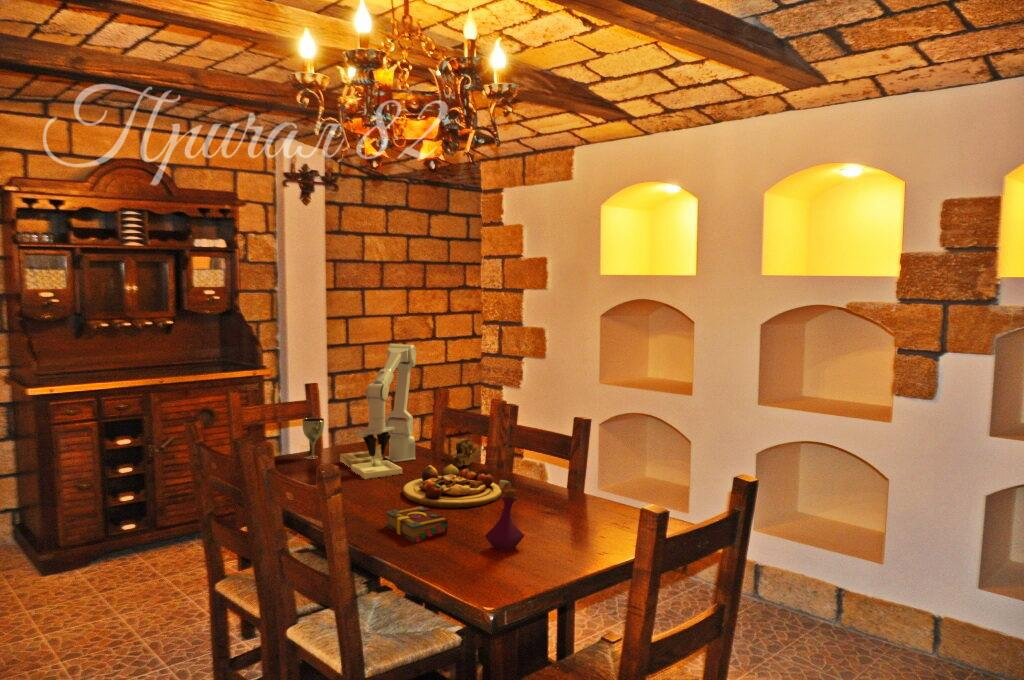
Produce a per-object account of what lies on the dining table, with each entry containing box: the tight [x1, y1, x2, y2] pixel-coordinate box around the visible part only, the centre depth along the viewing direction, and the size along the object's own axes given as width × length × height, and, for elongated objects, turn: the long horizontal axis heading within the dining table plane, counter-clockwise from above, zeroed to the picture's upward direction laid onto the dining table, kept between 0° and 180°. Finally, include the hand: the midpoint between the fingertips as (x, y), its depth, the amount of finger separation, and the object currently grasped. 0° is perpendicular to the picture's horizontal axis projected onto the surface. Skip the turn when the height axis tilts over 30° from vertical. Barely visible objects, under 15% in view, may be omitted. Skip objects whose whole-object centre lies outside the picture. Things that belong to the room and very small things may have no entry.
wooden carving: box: [452, 438, 478, 468], centre depth 273 cm, size 16×5×10 cm, turn 162°
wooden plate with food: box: [402, 463, 502, 509], centre depth 237 cm, size 32×32×8 cm
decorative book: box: [385, 505, 448, 543], centre depth 202 cm, size 11×16×5 cm
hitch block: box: [339, 450, 384, 469], centre depth 272 cm, size 12×12×3 cm
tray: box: [350, 459, 403, 480], centre depth 260 cm, size 14×13×2 cm
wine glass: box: [301, 417, 325, 459], centre depth 277 cm, size 8×8×15 cm
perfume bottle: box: [484, 479, 525, 552], centre depth 190 cm, size 8×8×18 cm
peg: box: [371, 441, 383, 467], centre depth 260 cm, size 4×4×8 cm
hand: (376, 454), depth 260 cm, fingers closed on peg, 3 cm apart
